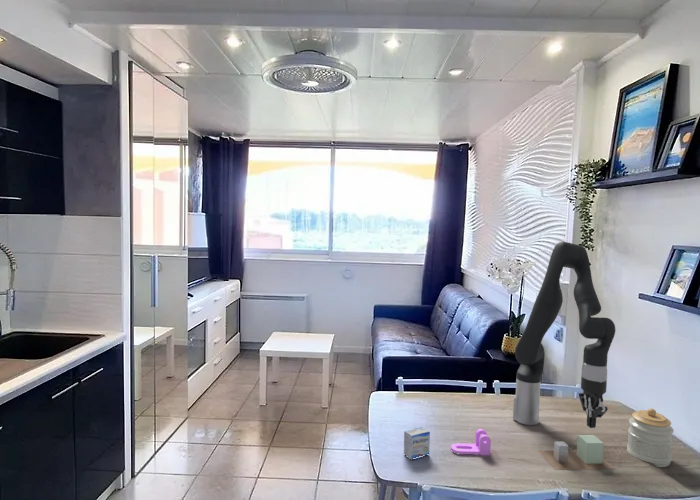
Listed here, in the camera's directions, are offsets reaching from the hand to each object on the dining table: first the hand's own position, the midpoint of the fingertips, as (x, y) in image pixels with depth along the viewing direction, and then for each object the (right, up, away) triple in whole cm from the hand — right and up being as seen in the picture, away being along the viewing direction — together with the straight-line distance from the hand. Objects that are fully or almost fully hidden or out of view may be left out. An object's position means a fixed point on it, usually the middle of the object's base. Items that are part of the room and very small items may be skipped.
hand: (591, 426), depth 154 cm
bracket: (-39, -12, +8) cm, 41 cm away
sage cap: (0, -11, +1) cm, 11 cm away
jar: (+23, -13, +5) cm, 27 cm away
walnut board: (-5, -13, +1) cm, 14 cm away
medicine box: (-58, -12, +4) cm, 59 cm away
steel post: (-10, -11, 0) cm, 15 cm away
